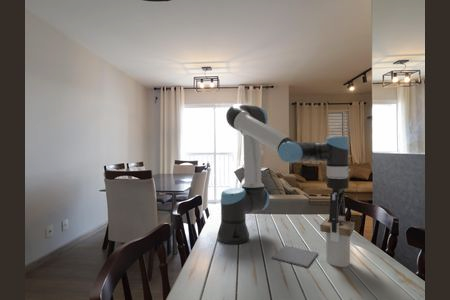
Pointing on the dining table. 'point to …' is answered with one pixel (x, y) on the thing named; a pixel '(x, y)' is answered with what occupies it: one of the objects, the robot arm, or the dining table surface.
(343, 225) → the lid
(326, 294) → the dining table surface
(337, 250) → the cup
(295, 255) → the mat
